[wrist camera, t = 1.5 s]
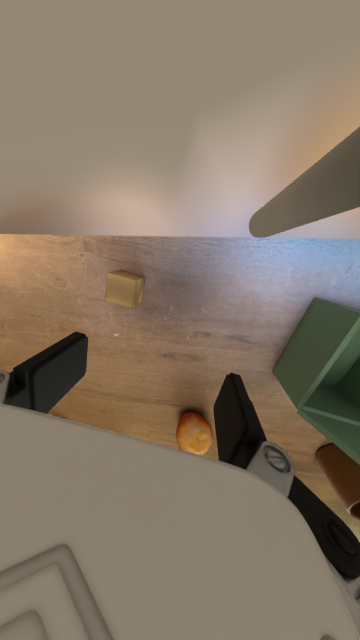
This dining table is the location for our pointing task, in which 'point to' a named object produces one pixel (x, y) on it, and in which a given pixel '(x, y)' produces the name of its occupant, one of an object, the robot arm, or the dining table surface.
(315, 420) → the lid
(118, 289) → the block
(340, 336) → the chest
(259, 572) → the robot arm
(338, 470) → the mug
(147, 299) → the dining table surface
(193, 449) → the fruit
